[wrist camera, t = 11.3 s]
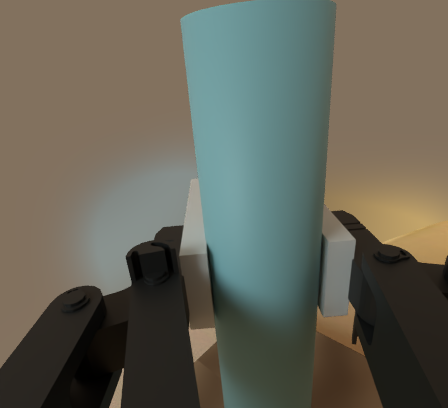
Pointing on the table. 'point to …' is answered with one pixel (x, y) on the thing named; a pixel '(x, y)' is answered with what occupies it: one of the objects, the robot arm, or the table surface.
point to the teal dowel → (262, 185)
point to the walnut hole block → (322, 378)
